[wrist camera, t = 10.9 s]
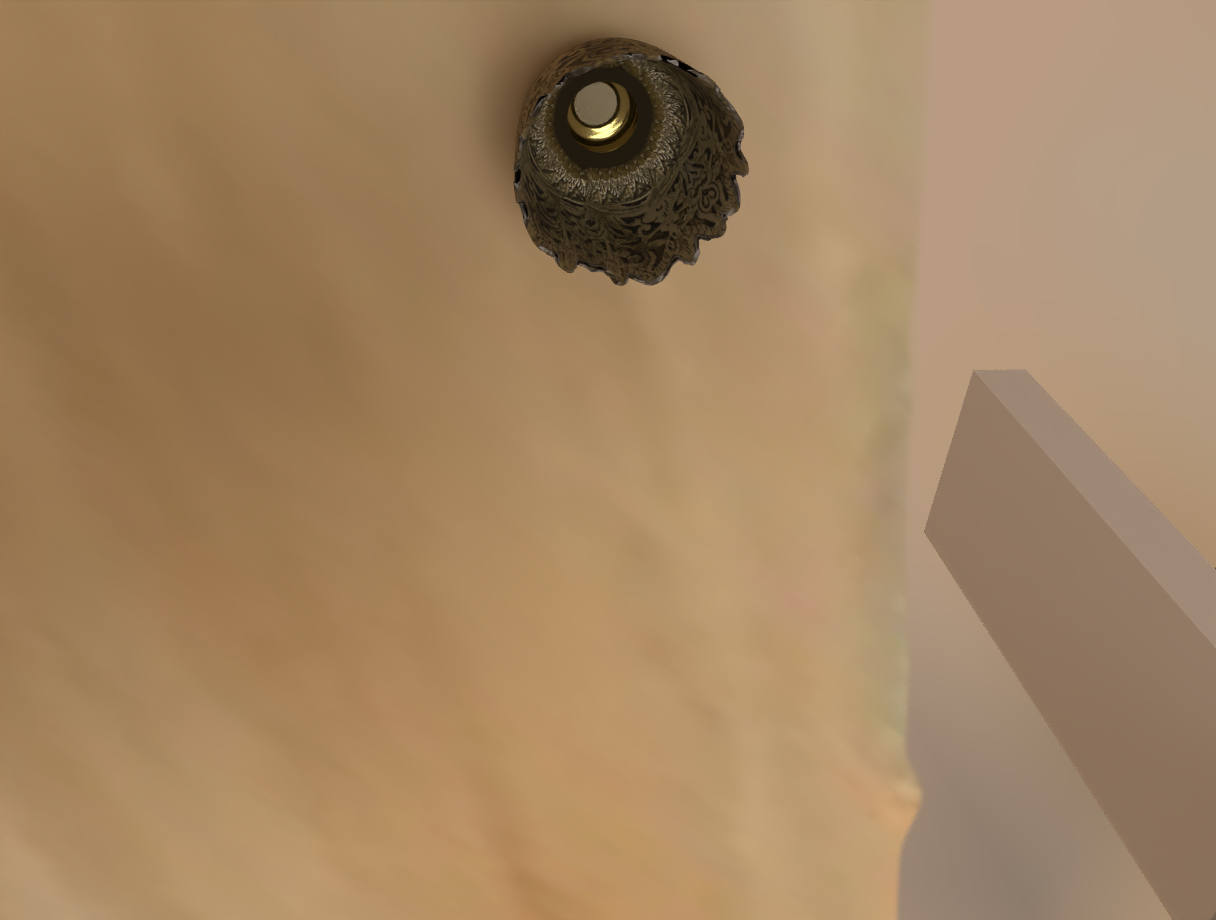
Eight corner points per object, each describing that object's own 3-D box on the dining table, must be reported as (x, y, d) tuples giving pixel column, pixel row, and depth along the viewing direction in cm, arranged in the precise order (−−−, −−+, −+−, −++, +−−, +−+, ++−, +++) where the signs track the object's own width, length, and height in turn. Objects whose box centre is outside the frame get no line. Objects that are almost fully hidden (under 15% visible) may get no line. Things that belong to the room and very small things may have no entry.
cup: (466, 157, 40) (478, 244, 34) (540, -39, 37) (571, 16, 31) (642, 224, 43) (685, 316, 37) (727, 47, 40) (791, 114, 33)
